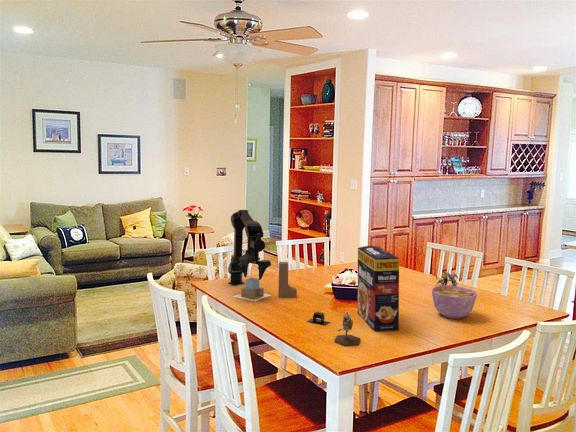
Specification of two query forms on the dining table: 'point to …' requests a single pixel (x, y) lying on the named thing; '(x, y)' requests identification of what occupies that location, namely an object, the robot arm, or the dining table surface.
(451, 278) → the plant sprig
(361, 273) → the cereal box
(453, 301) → the bowl of food
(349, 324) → the robot figurine
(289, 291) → the wooden block
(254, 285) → the gray cube
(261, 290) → the walnut base
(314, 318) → the black block
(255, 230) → the robot arm
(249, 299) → the felt mat
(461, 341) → the dining table surface
